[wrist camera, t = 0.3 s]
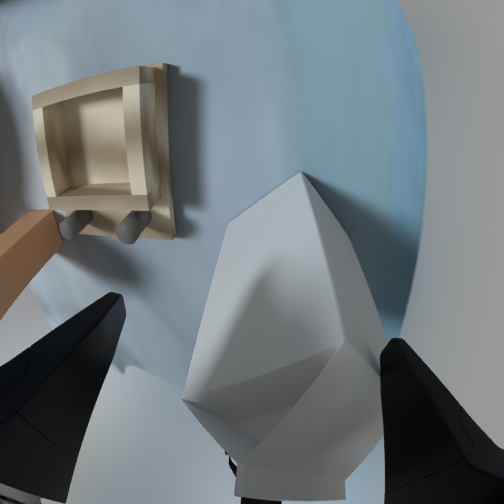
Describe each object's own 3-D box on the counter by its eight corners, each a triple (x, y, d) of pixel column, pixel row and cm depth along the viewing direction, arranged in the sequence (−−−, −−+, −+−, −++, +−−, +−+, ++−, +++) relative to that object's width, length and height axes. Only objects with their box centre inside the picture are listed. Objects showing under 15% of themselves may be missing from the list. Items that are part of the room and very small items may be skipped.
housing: (176, 233, 23) (161, 261, 20) (76, 228, 23) (54, 251, 20) (167, 63, 15) (144, 60, 12) (54, 89, 16) (23, 96, 12)
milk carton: (300, 169, 19) (367, 482, 4) (349, 236, 22) (419, 480, 6) (228, 222, 22) (161, 487, 6) (281, 277, 25) (279, 506, 9)
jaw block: (63, 244, 25) (-1, 322, 15) (39, 242, 25) (-22, 312, 15) (52, 209, 22) (-24, 283, 12) (29, 210, 22) (-42, 276, 13)
